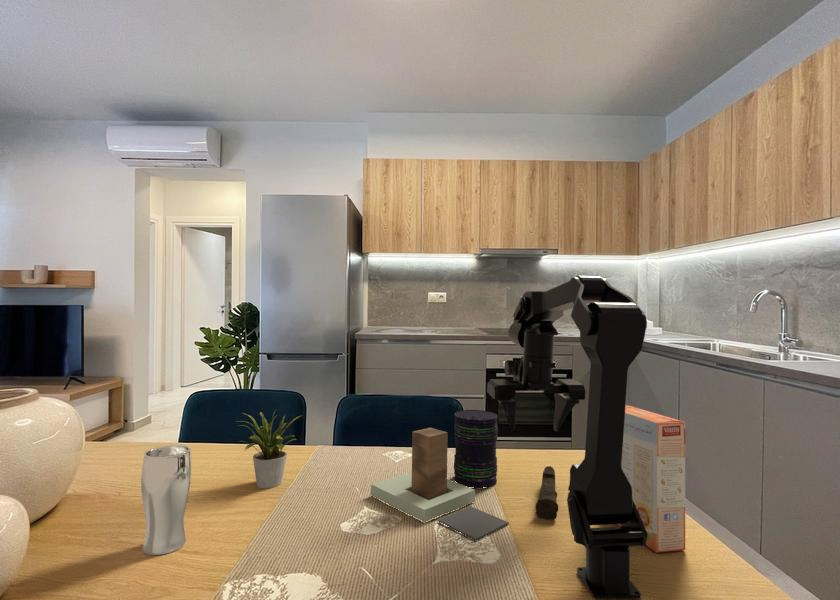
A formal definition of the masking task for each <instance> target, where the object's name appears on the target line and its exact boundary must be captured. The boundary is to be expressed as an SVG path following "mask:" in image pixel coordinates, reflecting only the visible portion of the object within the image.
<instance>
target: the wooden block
mask: <svg viewBox="0 0 840 600" xmlns="http://www.w3.org/2000/svg"><path fill="white" fill-rule="evenodd" d="M411 434H412V439H411V440H412V441H411V445H412V446H411V453H412V454H411V472H412V490H411V492H412V493H414V494H416V495H419V496H421V497H423V498H425V499H427V500H431V499H433V498H436V497H438V496H441V495H444V494H446V493H447V479H448V439H449V438H448V432H447V431H444V430H440V429H437V428H433V427H427V428H423V429H418V430H414V431H412V432H411Z"/></svg>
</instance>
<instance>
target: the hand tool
mask: <svg viewBox="0 0 840 600" xmlns="http://www.w3.org/2000/svg"><path fill="white" fill-rule="evenodd" d="M541 477H542V479H541V486H540V491H539V497H538V499H537V500H536V503H535V515H537V517H538V518H539V519H544V520H551V521H552V520H556V518H557V516H558V512H559V504H558V502H557V497H558V492H557V491H556V472H555V469H554V467H553V466H550V465H548V466H545V467H544V469H543V471H542V475H541Z"/></svg>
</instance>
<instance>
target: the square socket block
mask: <svg viewBox="0 0 840 600" xmlns="http://www.w3.org/2000/svg"><path fill="white" fill-rule="evenodd" d="M411 490H412V471H409V472H406V473H403V474H399V475H395V476H393V477H390V478H387V479H384V480H380V481H376V482H373V483H371V484H370V496H371V495H372V496H374V497H376V498H378V499H380V500H382V501H384V502H385V503H388V504H389V505H391V506H393V507H395V508H397V509H399V510H401V511H403V512H405V513H407V514H409V515H412V516H414V517H416V518H418V519H420V520H422V521H423V522H426V521H428V520H430V519H432V518H435V517H437V516H440V515H442V514H445V513H448V512H451V511H453V510H456V509H458V508H461V507H463V506H465V505H468V504H470V503H472V502H476V489H472V488H469V487H466V486H464V485H461V484H459V483H456V482H455V481H454V480H451V479H448V478H447V493H446V494H444V495H441V496H438V497H436V498H433V499H431V500H427V499H425V498H423V497H421V496H419V495H416V494H414V493H412V492H411ZM472 504H473V503H472ZM470 505H471V504H470ZM468 506H469V505H468ZM465 507H466V506H465ZM463 508H464V507H463ZM461 509H462V508H461ZM458 510H459V509H458ZM456 511H457V510H456ZM451 513H452V512H451Z"/></svg>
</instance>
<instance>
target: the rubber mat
mask: <svg viewBox="0 0 840 600" xmlns="http://www.w3.org/2000/svg"><path fill="white" fill-rule="evenodd" d="M438 521H439V522H441V523H443V524H445V525H447V526H449V527H450V528H452V529H454V530H456V531H458V532H461V533H462V534H464V535H466V536H468V537H470V538H472V539H474V540H476V541H475V542H477V540H478V541H480V540H481V539H480V538H482V539H484V538H485V537H484V536H486V535H487V536H489V535H491V534H493V533H495V532H497V531H499V530H500V528H501V529H503V528H505V527H506V525H507V526H508V525H509V522H508V521H506V520H504V519H501V518H500V517H497V516H494V515H493V514H490V513H488V512H486V511H483V510H480V509H478V508H476V507H474V506H471V505H468V506H466V507H464V508H461V509H459V510H457V511H456V512H455V511H454V512H452V513H451V514H447V515H445V516H443V517H440V518H438V519H437V522H438ZM504 526H505V527H504ZM502 527H503V528H502ZM450 528H449V529H450ZM452 529H451V530H452ZM498 529H499V530H498ZM454 530H453V531H454ZM496 530H497V531H496ZM456 531H455V532H456ZM494 531H495V532H494ZM458 532H457V533H458ZM492 532H493V533H492ZM490 533H491V534H490ZM462 534H461V535H462ZM488 534H489V535H488ZM464 535H463V536H464ZM466 536H465V537H466ZM487 536H486V537H487ZM468 537H467V538H468ZM483 537H484V538H483ZM470 538H469V539H470ZM472 539H471V540H472ZM479 539H480V540H479ZM474 540H473V541H474Z"/></svg>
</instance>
